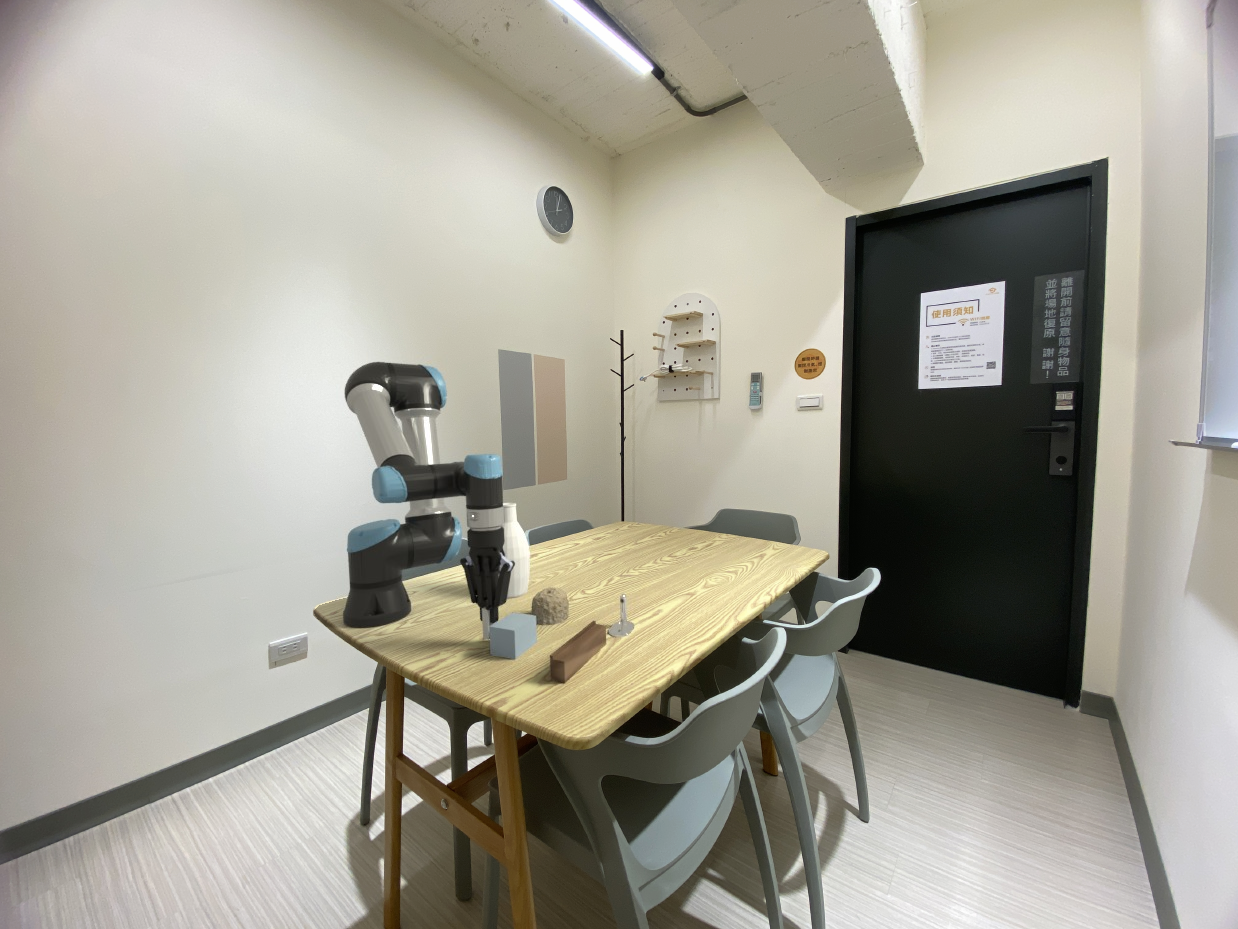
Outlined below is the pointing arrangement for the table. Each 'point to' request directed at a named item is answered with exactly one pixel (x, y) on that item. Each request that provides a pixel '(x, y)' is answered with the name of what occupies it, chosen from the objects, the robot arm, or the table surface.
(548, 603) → the sponge
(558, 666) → the brown wooden bar
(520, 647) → the block
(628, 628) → the metal post stand
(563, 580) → the table surface
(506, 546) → the bottle
